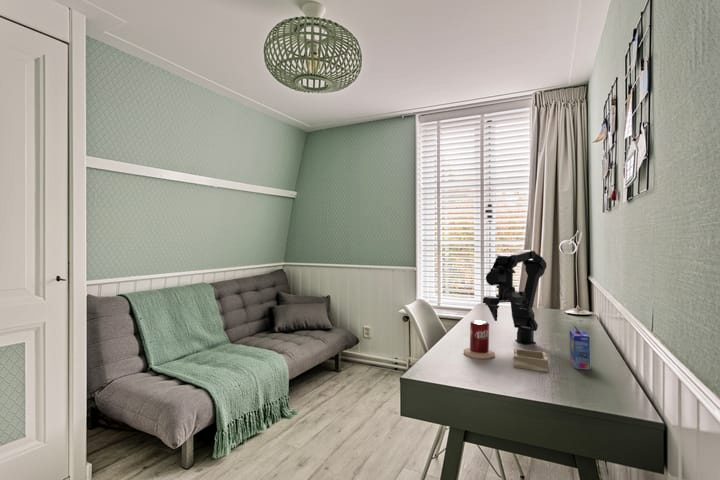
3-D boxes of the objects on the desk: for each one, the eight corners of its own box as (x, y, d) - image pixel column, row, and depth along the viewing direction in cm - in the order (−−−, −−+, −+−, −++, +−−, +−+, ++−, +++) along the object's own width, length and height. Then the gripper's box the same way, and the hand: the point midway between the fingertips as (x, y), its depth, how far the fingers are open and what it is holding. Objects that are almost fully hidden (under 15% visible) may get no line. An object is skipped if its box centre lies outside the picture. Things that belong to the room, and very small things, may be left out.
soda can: (492, 353, 155) (493, 323, 155) (480, 355, 152) (480, 325, 152) (478, 348, 162) (478, 319, 162) (466, 351, 158) (466, 321, 158)
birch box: (513, 358, 152) (513, 348, 152) (544, 362, 148) (544, 351, 148) (514, 367, 141) (514, 356, 141) (547, 371, 137) (547, 360, 137)
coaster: (482, 349, 164) (482, 347, 164) (501, 357, 153) (501, 355, 153) (457, 351, 160) (457, 349, 160) (474, 360, 149) (474, 357, 149)
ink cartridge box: (568, 360, 151) (569, 323, 151) (584, 362, 149) (585, 324, 149) (573, 368, 141) (574, 328, 141) (590, 370, 139) (591, 330, 139)
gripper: (499, 286, 155) (498, 325, 155) (537, 285, 161) (536, 323, 161) (482, 283, 166) (481, 319, 166) (518, 282, 172) (518, 317, 172)
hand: (504, 320), depth 166 cm, fingers open, 9 cm apart
